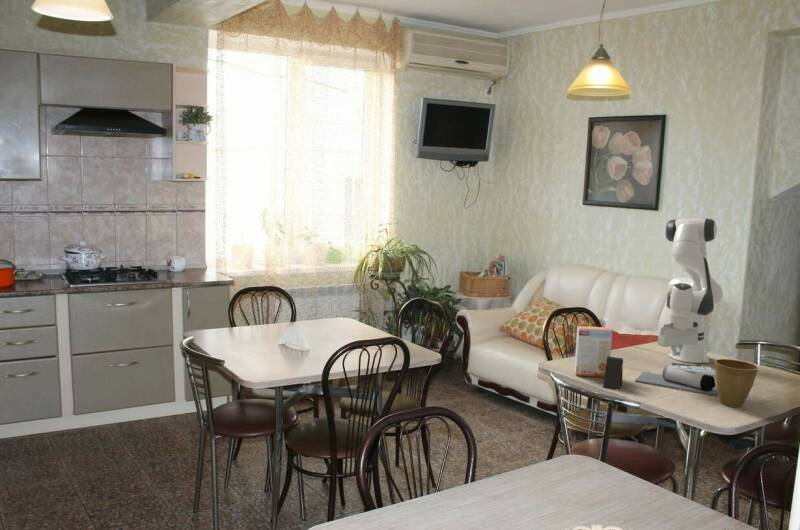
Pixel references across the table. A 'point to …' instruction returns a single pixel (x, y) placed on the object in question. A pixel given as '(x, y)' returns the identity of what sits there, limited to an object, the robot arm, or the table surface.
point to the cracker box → (592, 350)
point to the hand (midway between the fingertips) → (676, 355)
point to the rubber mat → (672, 384)
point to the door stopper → (613, 373)
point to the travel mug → (688, 378)
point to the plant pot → (734, 381)
